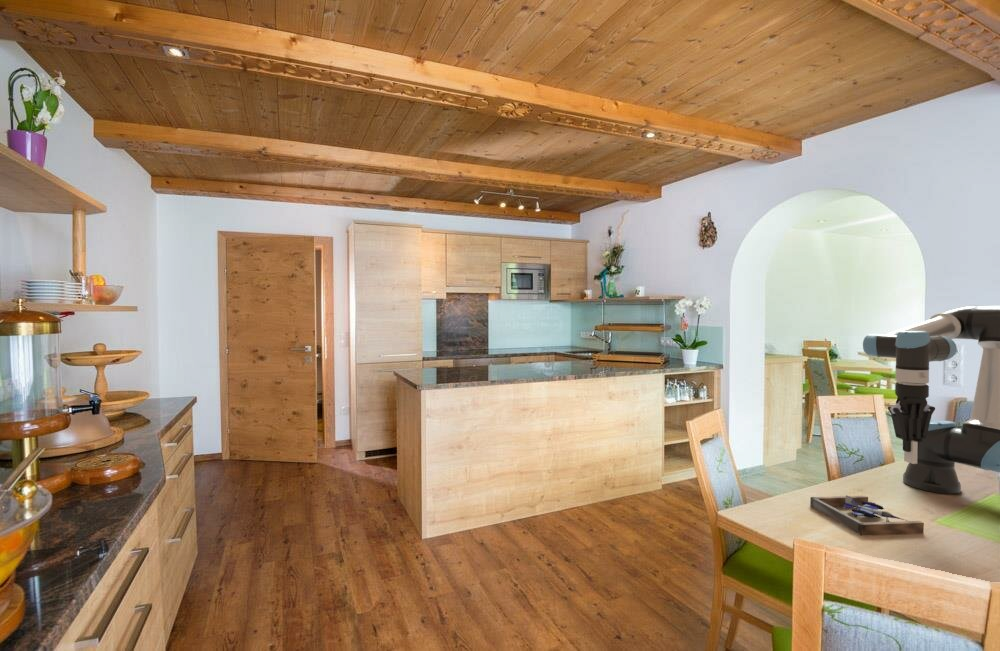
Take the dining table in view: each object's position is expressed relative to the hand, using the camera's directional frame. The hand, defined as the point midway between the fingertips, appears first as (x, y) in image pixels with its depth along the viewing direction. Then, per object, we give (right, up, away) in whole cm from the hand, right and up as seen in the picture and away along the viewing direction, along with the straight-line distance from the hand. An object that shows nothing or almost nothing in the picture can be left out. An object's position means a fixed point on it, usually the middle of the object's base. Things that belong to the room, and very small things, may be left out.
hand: (910, 462), depth 142 cm
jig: (-14, -17, -1) cm, 22 cm away
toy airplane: (-12, -17, -1) cm, 21 cm away
